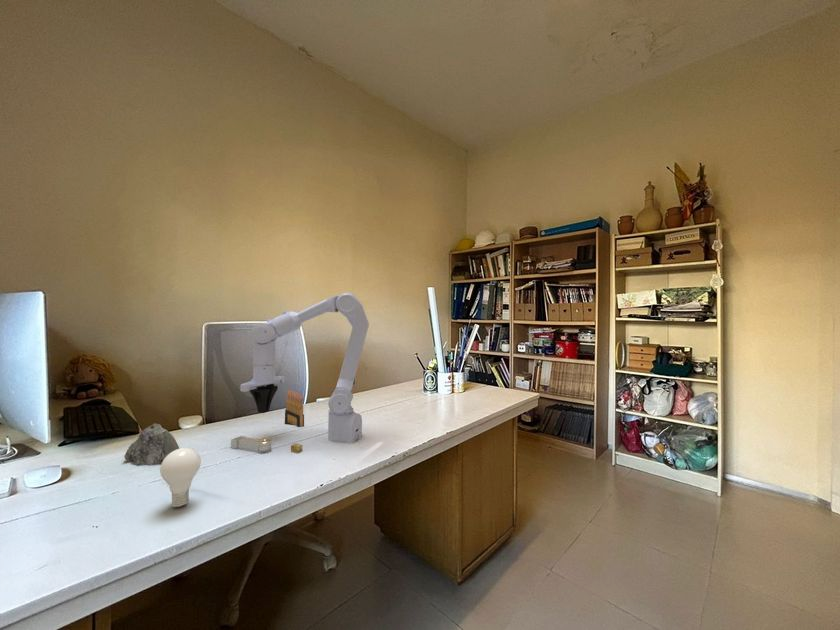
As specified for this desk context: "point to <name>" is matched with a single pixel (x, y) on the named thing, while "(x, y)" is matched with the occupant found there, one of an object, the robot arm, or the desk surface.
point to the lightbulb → (180, 473)
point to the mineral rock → (151, 446)
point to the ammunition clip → (294, 409)
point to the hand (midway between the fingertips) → (263, 411)
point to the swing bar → (251, 444)
